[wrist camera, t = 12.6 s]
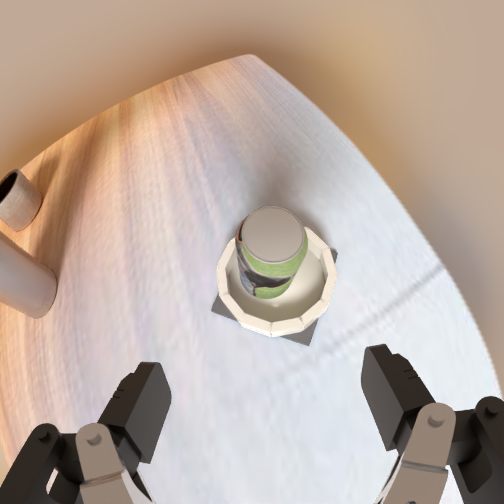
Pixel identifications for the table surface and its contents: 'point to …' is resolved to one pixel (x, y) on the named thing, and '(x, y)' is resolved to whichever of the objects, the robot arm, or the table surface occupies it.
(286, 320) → the bowl
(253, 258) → the beverage can
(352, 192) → the table surface
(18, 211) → the planter
